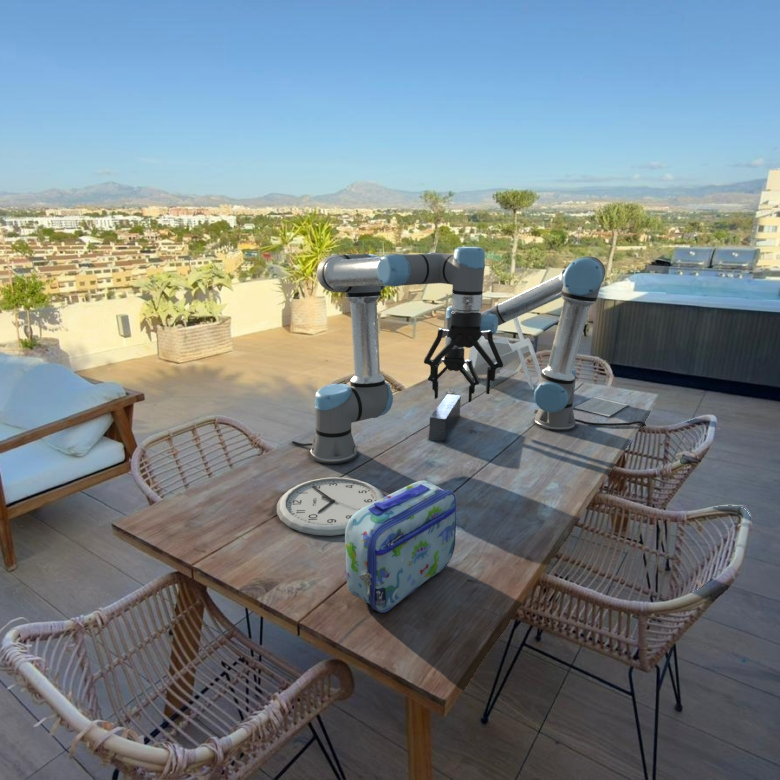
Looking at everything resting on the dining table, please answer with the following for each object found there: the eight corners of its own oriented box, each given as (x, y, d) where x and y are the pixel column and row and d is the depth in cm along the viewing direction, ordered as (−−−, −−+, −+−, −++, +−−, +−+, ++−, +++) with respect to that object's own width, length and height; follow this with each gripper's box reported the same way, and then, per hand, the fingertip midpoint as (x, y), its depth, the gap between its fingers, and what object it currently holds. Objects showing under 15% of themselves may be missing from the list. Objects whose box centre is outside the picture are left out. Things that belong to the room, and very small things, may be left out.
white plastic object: (480, 418, 266) (459, 395, 242) (461, 346, 288) (441, 318, 264) (550, 394, 254) (536, 368, 229) (526, 321, 276) (510, 289, 251)
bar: (446, 414, 214) (447, 394, 211) (459, 415, 212) (460, 395, 210) (428, 439, 188) (429, 417, 185) (444, 442, 186) (445, 419, 184)
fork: (440, 400, 230) (440, 396, 230) (449, 390, 245) (449, 386, 244) (446, 401, 230) (446, 396, 229) (454, 391, 244) (455, 387, 243)
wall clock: (392, 527, 129) (268, 531, 127) (391, 533, 130) (269, 537, 127) (383, 473, 158) (282, 475, 155) (383, 478, 158) (282, 480, 156)
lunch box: (374, 626, 100) (375, 530, 93) (338, 598, 107) (337, 508, 101) (459, 568, 117) (465, 484, 111) (424, 547, 124) (427, 467, 118)
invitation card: (608, 416, 214) (573, 407, 224) (608, 416, 214) (573, 408, 224) (628, 404, 229) (594, 396, 238) (628, 405, 229) (594, 397, 238)
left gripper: (415, 311, 129) (413, 392, 135) (518, 314, 126) (511, 398, 133) (417, 306, 136) (415, 384, 143) (515, 310, 134) (508, 389, 140)
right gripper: (420, 346, 201) (420, 399, 207) (485, 351, 194) (483, 405, 200) (425, 343, 208) (424, 393, 214) (488, 347, 200) (486, 399, 207)
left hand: (461, 391), depth 138 cm, fingers open, 13 cm apart
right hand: (452, 399), depth 207 cm, fingers open, 13 cm apart
